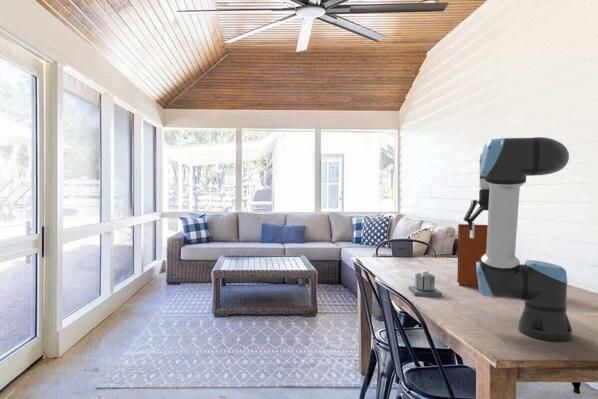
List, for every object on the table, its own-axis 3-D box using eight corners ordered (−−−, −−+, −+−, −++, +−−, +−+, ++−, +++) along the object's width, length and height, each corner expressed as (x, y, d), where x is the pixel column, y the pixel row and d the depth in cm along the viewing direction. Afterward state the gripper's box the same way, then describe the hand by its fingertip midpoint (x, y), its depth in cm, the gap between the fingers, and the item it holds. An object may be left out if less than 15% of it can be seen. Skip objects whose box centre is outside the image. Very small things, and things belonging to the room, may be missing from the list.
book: (458, 285, 195) (459, 225, 195) (457, 281, 203) (458, 224, 202) (510, 289, 188) (511, 226, 188) (506, 285, 196) (507, 225, 196)
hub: (436, 290, 176) (436, 277, 176) (418, 290, 177) (418, 276, 177) (431, 286, 184) (431, 273, 184) (413, 285, 185) (414, 273, 185)
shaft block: (441, 296, 174) (442, 274, 174) (414, 295, 175) (414, 273, 175) (434, 289, 186) (434, 268, 186) (408, 289, 187) (408, 268, 187)
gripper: (514, 189, 171) (513, 237, 172) (456, 188, 173) (455, 236, 173) (523, 188, 164) (522, 239, 164) (462, 188, 165) (461, 238, 166)
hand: (488, 238), depth 169 cm, fingers open, 13 cm apart
